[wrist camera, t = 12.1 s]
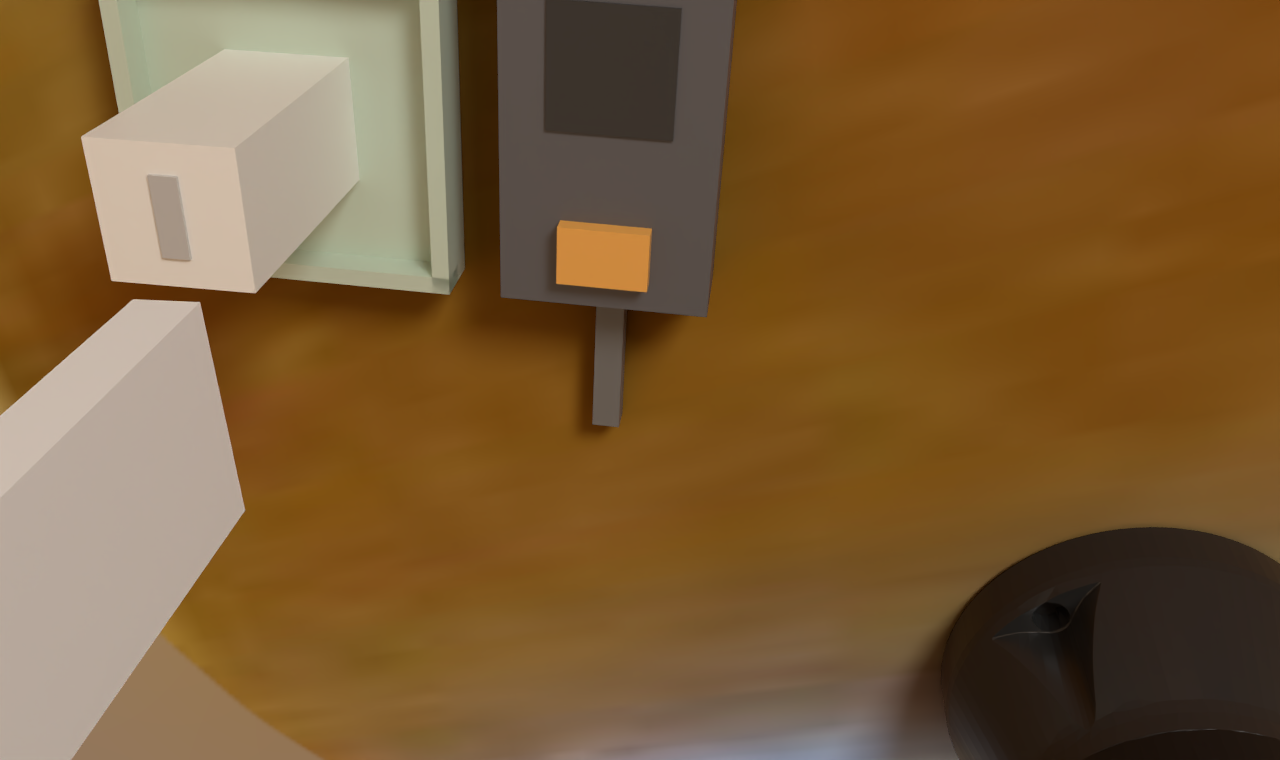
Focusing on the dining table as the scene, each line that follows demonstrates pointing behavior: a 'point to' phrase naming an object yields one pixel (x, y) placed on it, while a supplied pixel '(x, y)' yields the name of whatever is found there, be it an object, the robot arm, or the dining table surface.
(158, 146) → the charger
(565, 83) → the power strip
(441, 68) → the dish
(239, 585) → the dining table surface
